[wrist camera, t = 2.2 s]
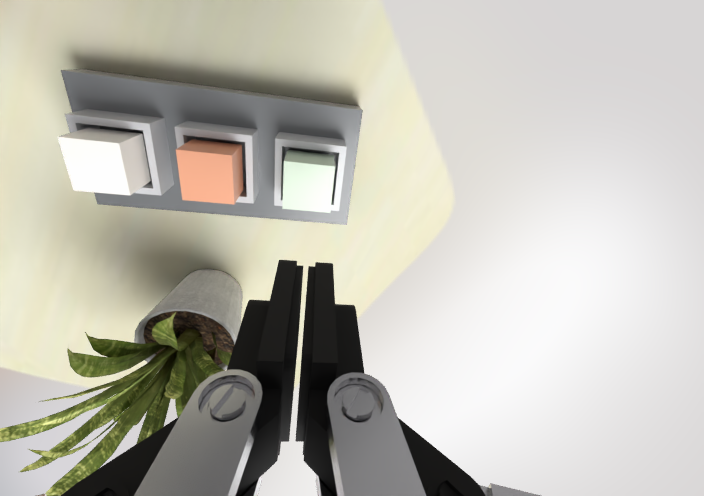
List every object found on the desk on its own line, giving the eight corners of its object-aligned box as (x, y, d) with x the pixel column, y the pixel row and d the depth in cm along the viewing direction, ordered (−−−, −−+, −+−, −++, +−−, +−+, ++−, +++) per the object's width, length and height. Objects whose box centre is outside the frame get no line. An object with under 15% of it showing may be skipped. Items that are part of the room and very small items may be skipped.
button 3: (287, 149, 20) (283, 161, 17) (333, 155, 20) (335, 166, 18) (286, 193, 21) (282, 208, 19) (329, 197, 21) (330, 212, 19)
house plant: (93, 321, 29) (-118, 565, 15) (123, 191, 24) (-169, 386, 9) (247, 364, 34) (194, 583, 19) (303, 262, 28) (286, 469, 14)
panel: (83, 69, 20) (33, 71, 16) (359, 106, 22) (366, 115, 19) (113, 193, 24) (78, 216, 20) (345, 213, 26) (348, 237, 22)
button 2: (192, 139, 19) (175, 149, 17) (241, 144, 19) (231, 155, 17) (197, 185, 20) (182, 199, 18) (243, 189, 21) (234, 204, 18)
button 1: (88, 127, 18) (57, 136, 16) (142, 133, 18) (118, 143, 16) (100, 176, 19) (73, 190, 17) (150, 180, 20) (130, 195, 18)
